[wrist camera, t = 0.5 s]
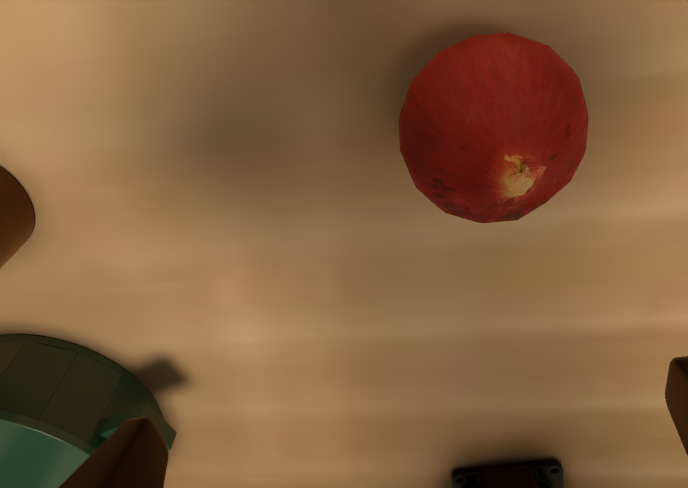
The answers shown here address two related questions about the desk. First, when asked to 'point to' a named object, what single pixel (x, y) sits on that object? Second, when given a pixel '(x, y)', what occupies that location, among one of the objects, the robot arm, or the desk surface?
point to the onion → (493, 127)
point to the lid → (37, 453)
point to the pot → (72, 389)
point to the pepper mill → (13, 216)
